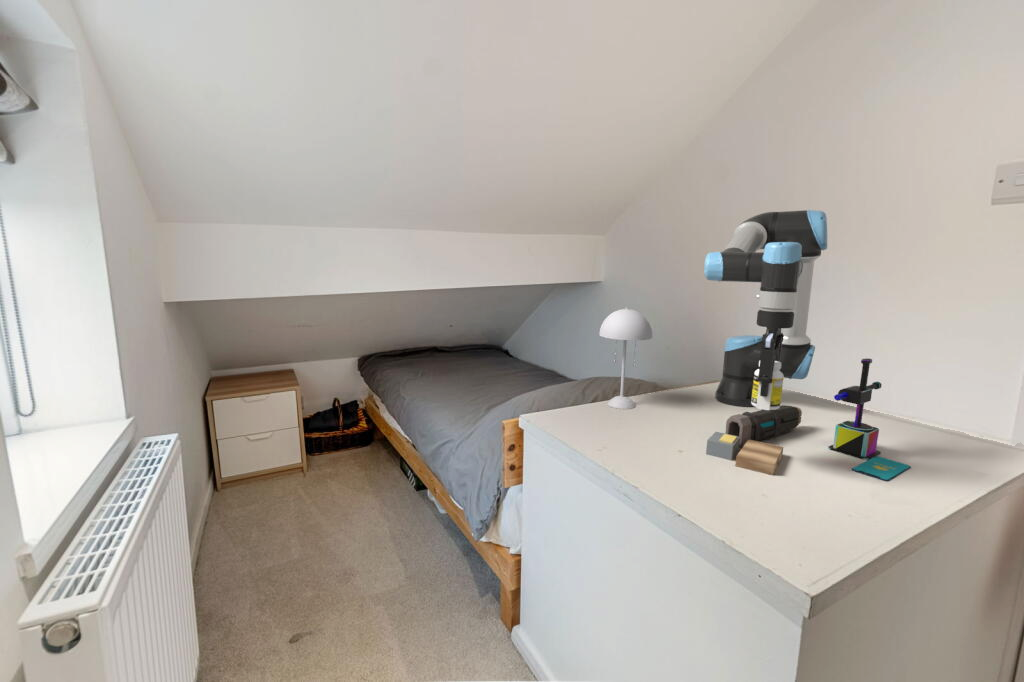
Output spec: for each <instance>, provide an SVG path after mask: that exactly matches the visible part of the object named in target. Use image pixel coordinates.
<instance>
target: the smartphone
mask: <svg viewBox="0 0 1024 682" xmlns="http://www.w3.org/2000/svg"><path fill="white" fill-rule="evenodd" d="M909 469H912V468H911V466H910V464H906V463H904V462H900V461H896V460H894V459H888V458H885V457H882V456H879V455H877V456H875V457H873V458H871V459H869V460H865V461H864V462H861V463H860V464H858V465H856V466H854V467H852V468H851V470H852V472H855V473H858V474H861V475H865V476H868V477H871V478H874V479H877V480H879V481H883V482H890V481H891V480H893V479H895V478H897V477H898V476H900V475H901V474H903V473H904V472H906V471H908V470H909Z"/></svg>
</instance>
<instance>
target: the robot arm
mask: <svg viewBox="0 0 1024 682" xmlns="http://www.w3.org/2000/svg"><path fill="white" fill-rule="evenodd" d="M827 249H828V219H827V214H826V212H824V211H822V210H811V209H807V210H804V209H803V210H790V211H789V210H788V211H767V212H763V213H759V214H757V215H754V216H752V217H750V218H747V219H746V220H744V221H742V222H741V223H740V224H739V225H738V226H737V227H736V228H735V230H734V232H733V235H732V239H731V240H730V241H729V243H728V244H727V245H726V246H725V248H724V249H723V250H722V251H714V252H713V251H711V252H709V253H707V255H706V257H705V259H704V260H705V261H704V266H703V267H704V268H703V269H704V270H703V271H704V276H705V278H706V280H708V281H715V282H739V283H760V287H759V294H757V295H756V298H757V299H758V307H759V308H760V309H759V310H757V313H756V314H757V315H756V316H757V317H756V325H757V326H759V327H765V328H766V329H765V333H764V334H762V335H757V334H755V335H752V334H751V335H736V336H731V337H729V338H727V339H726V342H725V347H724V350H723V352H724V354H723V366H722V378H721V380H720V382H719V384H718V385H717V389H716V390H715V394H714V395H715V397H714V398H715V400H716V401H718V402H721V403H723V404H726V405H733V406H738V407H747V408H748V407H752V408H753V407H754V406H753V405H752V404H751V399H752V390H753V381H754V373H755V371H756V370H757V369H759V375H758V379H757V378H756V381H758V382H759V388H758V397H757V406H756V407H755V408H756V409H758V410H762V409H763V410H770V402H771V393H772V384H773V383H771V382H772V376H773V369H774V363H775V361H778V362H781V369H780V372H782V373H783V375H784V378H785V379H789V380H793V379H794V380H805V379H806V378H807V377H808V375H809V372H810V369H811V365H812V361H813V358H814V354H815V351H816V345H813V344H811V342H812V340H811V338H810V337H809V336H808V335H807V328H808V319H809V313H810V302H811V292H812V285H813V276H814V266H815V261H816V260H817V259H819V257H821V256H822V251H825V250H827ZM759 250H763V251H764V252H760V251H759ZM758 251H759V252H758ZM759 361H760V367H759ZM784 378H783V379H784Z"/></svg>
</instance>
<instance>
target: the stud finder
mask: <svg viewBox="0 0 1024 682" xmlns="http://www.w3.org/2000/svg"><path fill="white" fill-rule="evenodd" d="M725 433H726V432H725ZM725 433H724V432H721V431H715V432H714V433H713V434H712V435H711V436H709V438H708V439H707V440H706V450H705V451H706V452H705V455H707V456H711V457H716V458H719V459H723V460H728V461H732V460H733V459H734V458H735V457H736V456H737V455H738V453H739V452H740V447H739V444H740V437H738V436H734V435H729V434H725Z"/></svg>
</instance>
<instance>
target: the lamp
mask: <svg viewBox="0 0 1024 682" xmlns="http://www.w3.org/2000/svg"><path fill="white" fill-rule="evenodd" d="M652 330H653V329H652V327H651V324H650V322H649V321H648V319H647V318H646V317H645V316H644V315H643V314H642V313H641V312H638V311H637V310H633V309H631V308H629V307H625V308H623V309H618V310H615V311H613V312H612V313H610V314H609V315H607V317H606V318H605V319H604V320H603V322H602V324H601V325H600V329H599V334H598V335H599V336H600V337H602V338H605V339H611V340H615V343H617V341H618V340H621V341H622V343H623V345H622V359H621V360H622V361H621V377H620V378H621V379H620V393H619V394H620V395H617V396H614V397H612V398H611V399H609V400H608V402H607V406H609V407H610V408H614V409H621V410H631V409H634V408H636V405H635V402H634V401H633V400H632V399H631V398H629V397H628V396H625V395H624V392H625V375H626V358H627V343H628V341H635V342H634V347H637V346H636V342H637V341H647V340H651V339H653V331H652ZM635 353H636V352H634V353H633V354H634V355H633V358H634V359H633V365H632V366H633V367H636V364H635V363H636V360H635V357H636V354H635ZM616 357H617V349H615V353H614V360H613V361H614V363H616V362H617V358H616Z"/></svg>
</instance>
